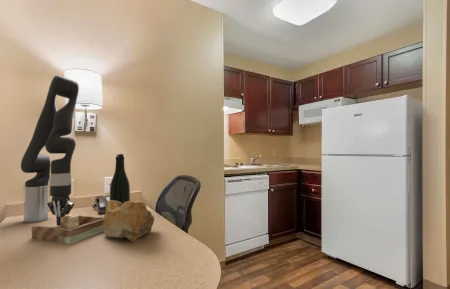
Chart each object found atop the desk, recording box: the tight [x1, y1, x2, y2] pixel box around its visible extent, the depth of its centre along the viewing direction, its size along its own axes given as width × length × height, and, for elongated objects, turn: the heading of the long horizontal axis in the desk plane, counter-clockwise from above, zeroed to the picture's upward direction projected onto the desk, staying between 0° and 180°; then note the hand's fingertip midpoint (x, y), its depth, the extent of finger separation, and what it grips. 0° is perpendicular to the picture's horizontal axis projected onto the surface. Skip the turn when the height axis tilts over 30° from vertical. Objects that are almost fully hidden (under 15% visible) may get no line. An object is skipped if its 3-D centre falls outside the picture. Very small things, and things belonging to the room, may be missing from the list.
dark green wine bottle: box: [108, 153, 131, 204], centre depth 131 cm, size 10×10×33 cm
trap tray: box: [31, 214, 104, 245], centre depth 100 cm, size 20×18×5 cm
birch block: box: [61, 214, 79, 229], centre depth 100 cm, size 4×4×4 cm
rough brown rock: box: [103, 200, 155, 243], centre depth 97 cm, size 23×17×15 cm
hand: (60, 225), depth 102 cm, fingers closed
